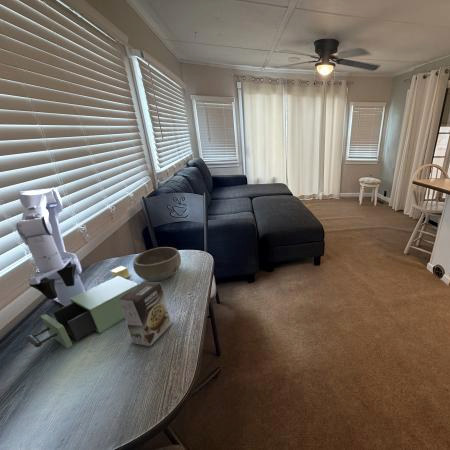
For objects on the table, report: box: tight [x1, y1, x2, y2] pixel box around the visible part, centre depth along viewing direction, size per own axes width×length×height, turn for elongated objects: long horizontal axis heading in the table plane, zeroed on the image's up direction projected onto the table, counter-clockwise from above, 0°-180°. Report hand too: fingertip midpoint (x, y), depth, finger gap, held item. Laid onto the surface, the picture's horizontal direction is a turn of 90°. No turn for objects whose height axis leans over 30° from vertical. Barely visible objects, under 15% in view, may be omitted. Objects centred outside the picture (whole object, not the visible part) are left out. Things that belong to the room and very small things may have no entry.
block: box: [110, 265, 131, 279], centre depth 103 cm, size 4×4×4 cm
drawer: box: [26, 302, 97, 349], centre depth 73 cm, size 18×11×7 cm, turn 154°
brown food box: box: [119, 280, 172, 347], centre depth 72 cm, size 9×6×16 cm
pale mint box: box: [70, 276, 140, 333], centre depth 82 cm, size 15×13×9 cm
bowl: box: [132, 246, 182, 282], centre depth 104 cm, size 17×18×10 cm
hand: (62, 291), depth 80 cm, fingers open, 7 cm apart
